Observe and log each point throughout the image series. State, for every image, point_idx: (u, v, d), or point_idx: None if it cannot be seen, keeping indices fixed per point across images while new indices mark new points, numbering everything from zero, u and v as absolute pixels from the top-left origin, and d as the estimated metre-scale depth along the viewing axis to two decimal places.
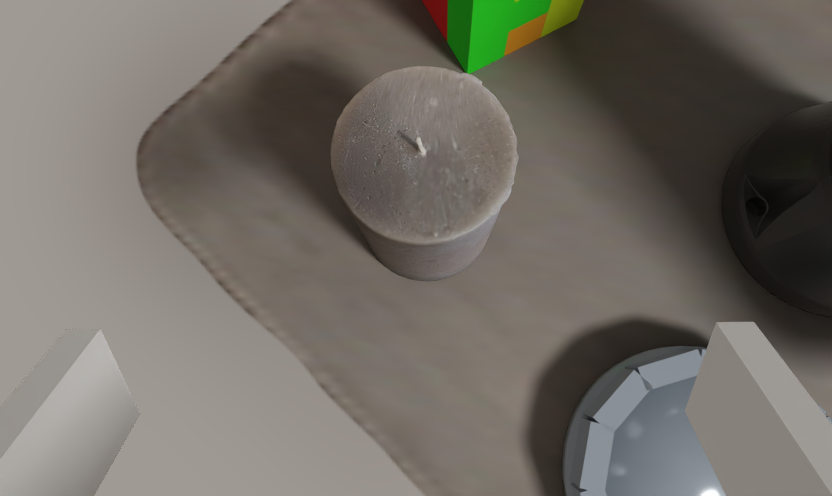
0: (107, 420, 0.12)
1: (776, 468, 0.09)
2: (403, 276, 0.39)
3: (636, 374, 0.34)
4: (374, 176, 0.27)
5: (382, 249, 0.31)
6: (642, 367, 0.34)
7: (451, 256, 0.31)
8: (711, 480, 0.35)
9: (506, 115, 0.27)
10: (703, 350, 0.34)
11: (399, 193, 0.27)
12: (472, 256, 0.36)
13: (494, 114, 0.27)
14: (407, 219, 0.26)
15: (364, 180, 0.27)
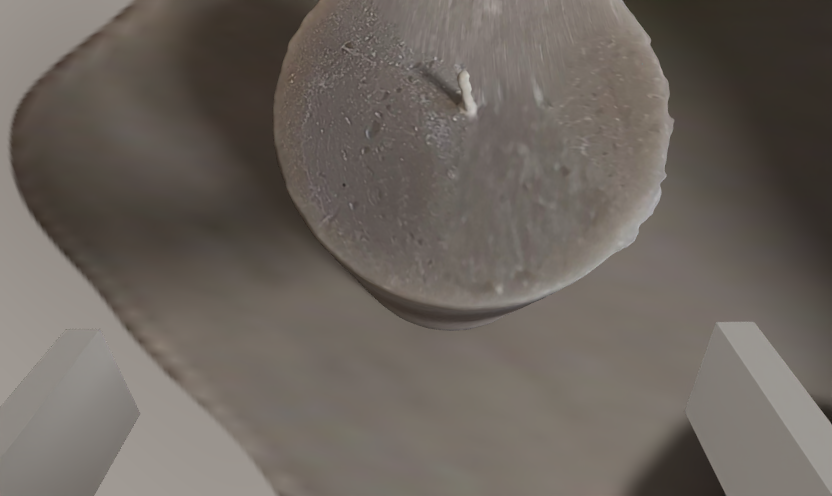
0: (107, 420, 0.12)
1: (776, 468, 0.09)
2: None
3: None
4: (366, 159, 0.12)
5: (380, 297, 0.17)
6: None
7: (508, 312, 0.17)
8: None
9: (645, 35, 0.13)
10: None
11: (419, 197, 0.12)
12: None
13: (619, 33, 0.13)
14: (436, 255, 0.12)
15: (344, 167, 0.12)
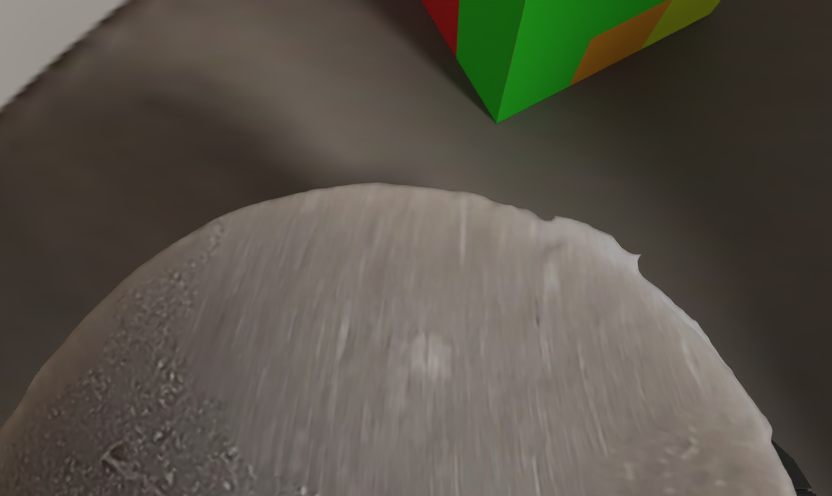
0: None
1: None
2: None
3: None
4: None
5: None
6: None
7: None
8: None
9: (761, 424, 0.06)
10: None
11: None
12: None
13: (706, 421, 0.06)
14: None
15: None
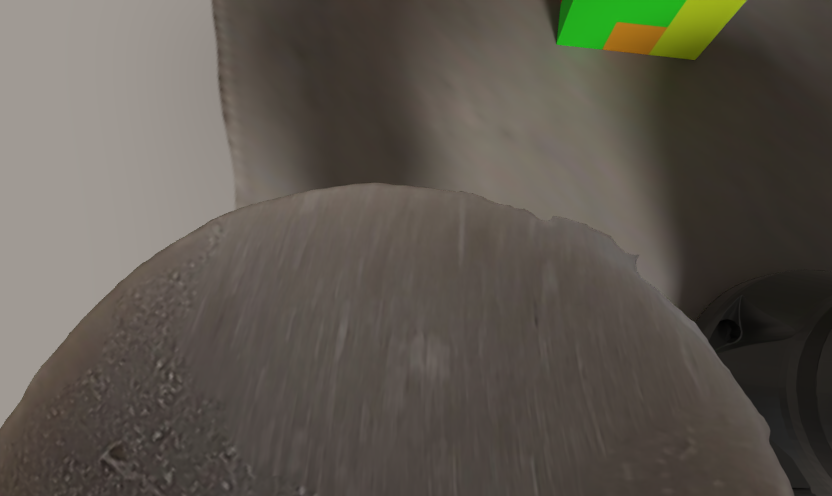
0: None
1: None
2: None
3: None
4: None
5: None
6: None
7: None
8: None
9: (759, 425, 0.06)
10: None
11: None
12: None
13: (704, 421, 0.06)
14: None
15: None
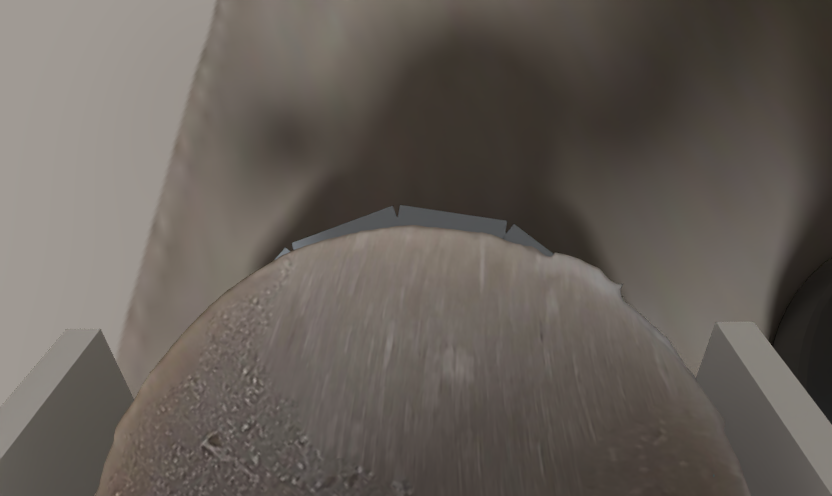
0: (107, 420, 0.12)
1: (775, 468, 0.09)
2: None
3: (502, 227, 0.20)
4: None
5: None
6: (518, 230, 0.20)
7: None
8: None
9: (716, 418, 0.08)
10: None
11: None
12: None
13: (672, 415, 0.08)
14: None
15: None
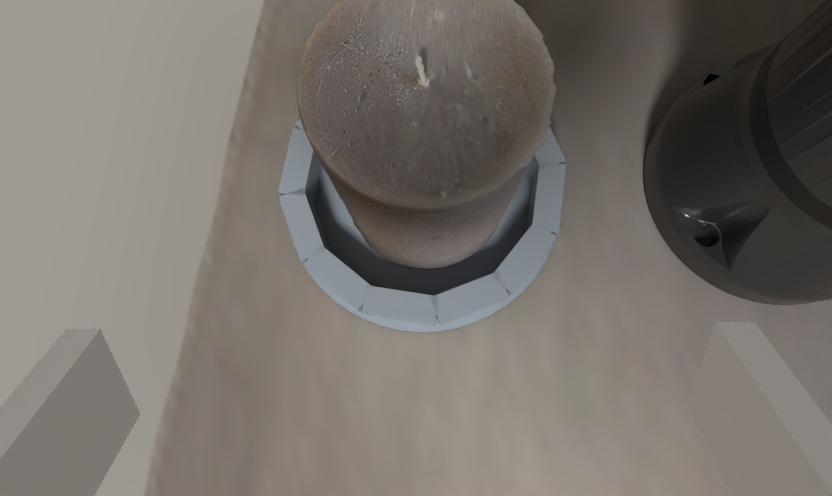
0: (107, 420, 0.12)
1: (776, 468, 0.09)
2: (398, 263, 0.32)
3: None
4: (358, 115, 0.19)
5: (370, 223, 0.24)
6: None
7: (461, 231, 0.23)
8: None
9: (539, 33, 0.20)
10: None
11: (392, 138, 0.19)
12: (485, 236, 0.28)
13: (522, 32, 0.20)
14: (403, 173, 0.19)
15: (344, 120, 0.19)
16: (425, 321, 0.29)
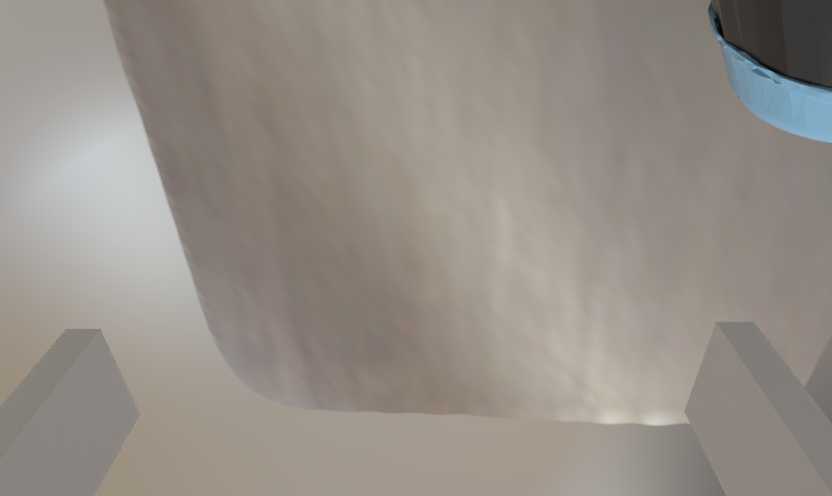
0: (107, 420, 0.12)
1: (776, 468, 0.09)
2: None
3: None
4: None
5: None
6: None
7: None
8: None
9: None
10: None
11: None
12: None
13: None
14: None
15: None
16: None
